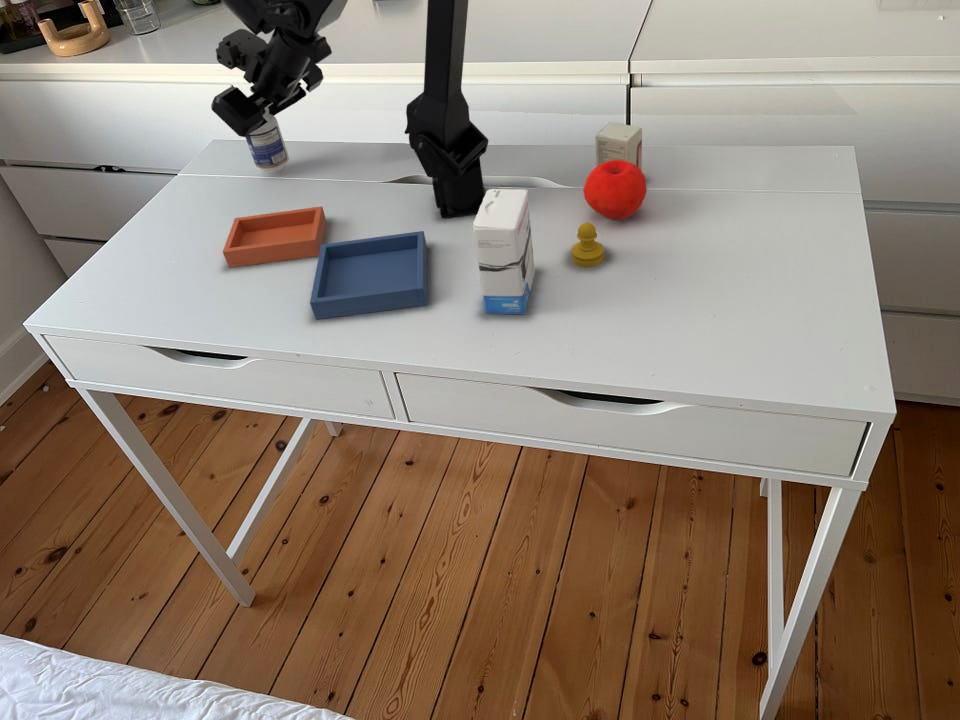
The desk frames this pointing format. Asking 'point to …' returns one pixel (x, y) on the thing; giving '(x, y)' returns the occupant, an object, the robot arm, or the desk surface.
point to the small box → (619, 144)
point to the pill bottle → (268, 145)
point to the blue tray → (370, 275)
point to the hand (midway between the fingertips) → (253, 124)
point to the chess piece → (587, 247)
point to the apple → (615, 189)
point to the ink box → (504, 250)
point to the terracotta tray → (275, 237)
